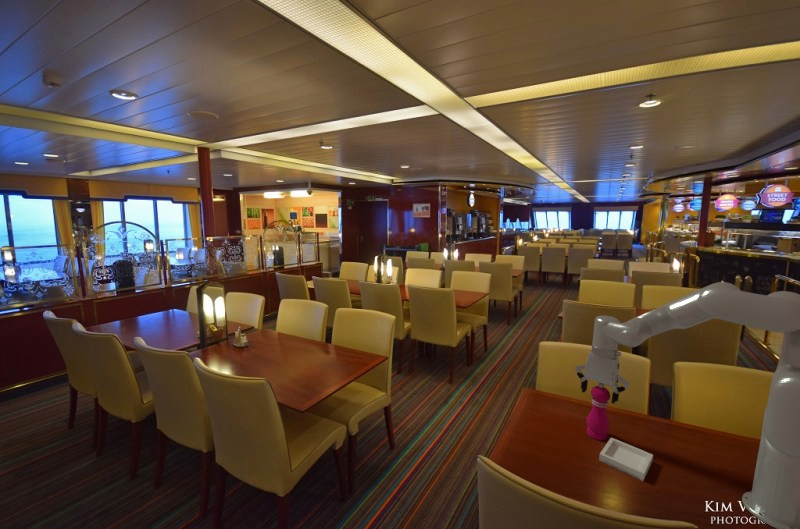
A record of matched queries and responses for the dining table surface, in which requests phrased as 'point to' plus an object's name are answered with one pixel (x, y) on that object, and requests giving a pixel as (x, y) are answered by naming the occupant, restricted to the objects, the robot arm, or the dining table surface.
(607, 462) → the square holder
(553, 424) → the dining table surface
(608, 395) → the pepper mill
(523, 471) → the dining table surface
